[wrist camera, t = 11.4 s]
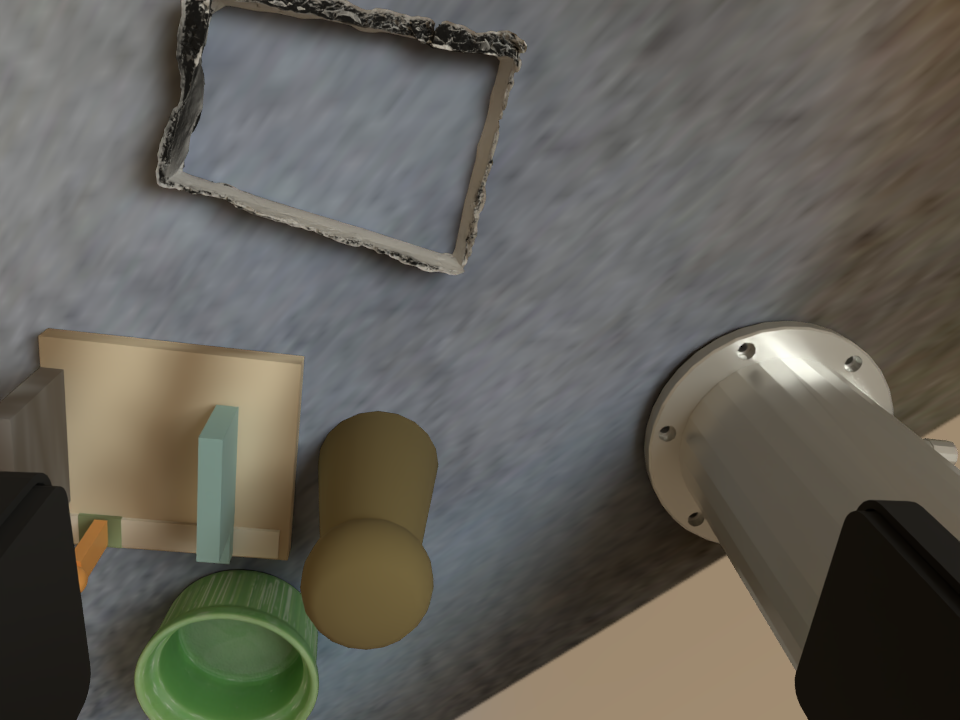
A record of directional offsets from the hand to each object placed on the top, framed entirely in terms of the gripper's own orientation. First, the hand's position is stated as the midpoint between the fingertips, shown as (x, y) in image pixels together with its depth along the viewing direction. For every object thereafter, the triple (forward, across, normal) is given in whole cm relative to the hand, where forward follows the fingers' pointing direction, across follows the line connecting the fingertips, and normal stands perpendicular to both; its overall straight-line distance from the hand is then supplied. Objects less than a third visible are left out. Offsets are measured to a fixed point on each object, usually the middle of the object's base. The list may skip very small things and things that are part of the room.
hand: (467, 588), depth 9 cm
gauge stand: (+27, +11, +14) cm, 32 cm away
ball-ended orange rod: (+25, +15, +18) cm, 34 cm away
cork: (+27, +2, +14) cm, 31 cm away
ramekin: (+27, +8, +25) cm, 38 cm away
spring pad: (+26, +9, +15) cm, 31 cm away
